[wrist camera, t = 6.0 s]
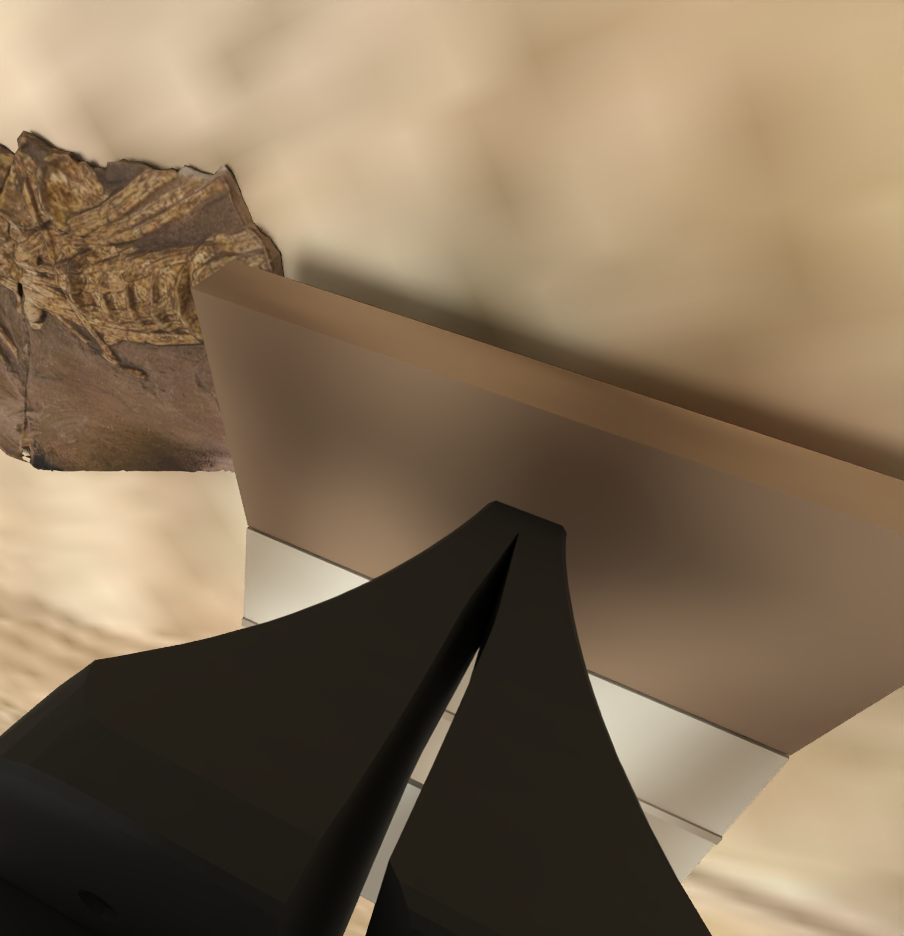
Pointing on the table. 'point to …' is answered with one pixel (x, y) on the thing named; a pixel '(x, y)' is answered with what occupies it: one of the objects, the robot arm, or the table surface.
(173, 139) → the table surface
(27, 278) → the fossil skeleton slab
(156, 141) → the table surface
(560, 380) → the walnut plank
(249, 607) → the ash board
